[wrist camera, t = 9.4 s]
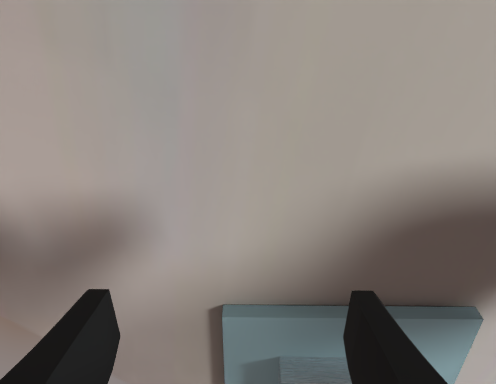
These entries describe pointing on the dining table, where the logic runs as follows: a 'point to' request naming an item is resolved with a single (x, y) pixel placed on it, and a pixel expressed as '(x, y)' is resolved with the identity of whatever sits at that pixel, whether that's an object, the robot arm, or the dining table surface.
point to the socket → (313, 370)
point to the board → (335, 336)
